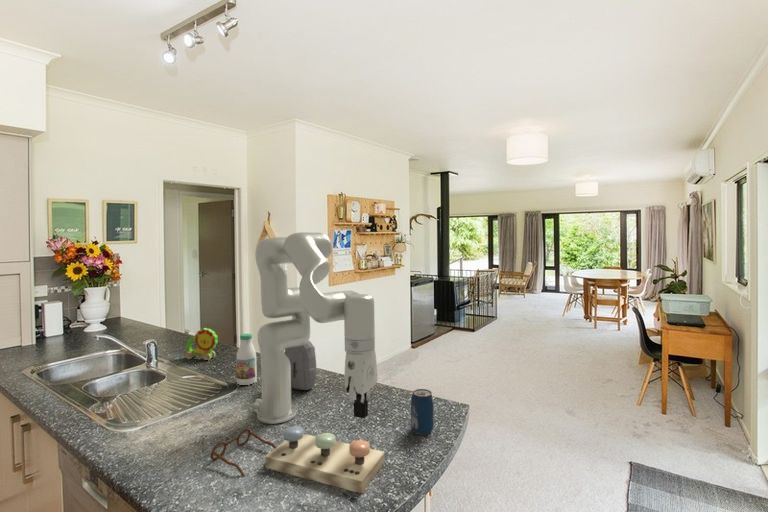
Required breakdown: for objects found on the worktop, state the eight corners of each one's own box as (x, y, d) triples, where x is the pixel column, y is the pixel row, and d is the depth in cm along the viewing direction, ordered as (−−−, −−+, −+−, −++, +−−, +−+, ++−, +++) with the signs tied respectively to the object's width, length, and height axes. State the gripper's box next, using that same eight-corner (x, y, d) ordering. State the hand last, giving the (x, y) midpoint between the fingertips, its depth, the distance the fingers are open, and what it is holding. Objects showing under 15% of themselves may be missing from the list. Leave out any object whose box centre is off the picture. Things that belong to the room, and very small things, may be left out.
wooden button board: (265, 467, 106) (264, 451, 105) (296, 442, 119) (296, 427, 118) (362, 493, 95) (362, 476, 95) (384, 462, 108) (384, 447, 108)
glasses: (248, 442, 119) (248, 425, 119) (281, 454, 113) (281, 437, 113) (209, 464, 108) (209, 445, 108) (243, 479, 102) (243, 459, 101)
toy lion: (184, 359, 196) (183, 328, 195) (191, 356, 201) (190, 326, 201) (213, 361, 193) (213, 330, 192) (220, 358, 198) (219, 327, 198)
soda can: (435, 427, 128) (435, 389, 127) (430, 437, 122) (430, 398, 121) (414, 423, 130) (414, 387, 130) (408, 433, 124) (408, 395, 123)
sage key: (311, 446, 105) (311, 440, 105) (321, 437, 110) (321, 431, 110) (329, 450, 103) (328, 444, 103) (338, 440, 108) (338, 435, 108)
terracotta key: (345, 454, 101) (345, 448, 101) (355, 444, 106) (355, 438, 106) (364, 458, 99) (364, 452, 99) (373, 448, 104) (373, 442, 104)
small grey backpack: (320, 389, 159) (319, 338, 158) (305, 396, 152) (304, 343, 151) (292, 381, 167) (291, 333, 166) (277, 387, 160) (276, 338, 159)
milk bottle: (239, 379, 169) (238, 332, 168) (258, 379, 170) (257, 332, 169) (234, 386, 162) (233, 337, 160) (254, 386, 162) (253, 336, 161)
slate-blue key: (279, 439, 109) (279, 433, 109) (291, 430, 114) (291, 424, 114) (295, 442, 107) (295, 436, 107) (306, 433, 112) (306, 428, 112)
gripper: (360, 353, 93) (361, 432, 94) (384, 338, 107) (385, 407, 107) (331, 350, 96) (333, 426, 96) (359, 336, 109) (360, 403, 110)
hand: (360, 416), depth 102 cm, fingers closed
